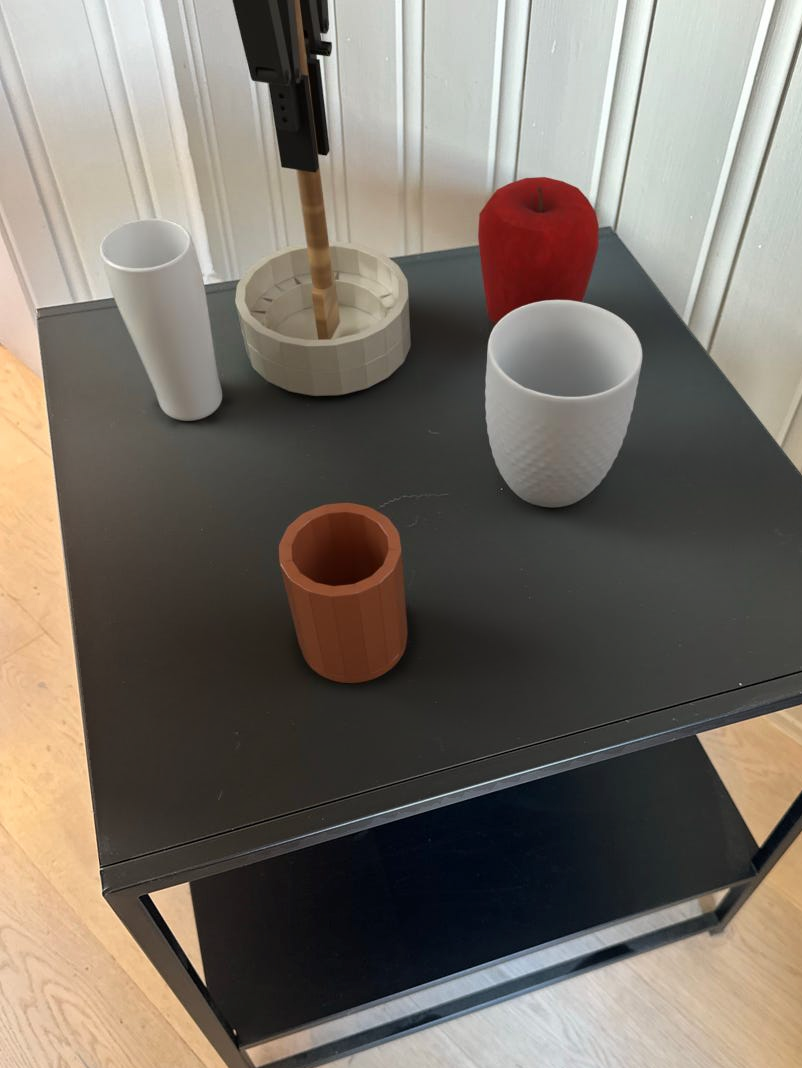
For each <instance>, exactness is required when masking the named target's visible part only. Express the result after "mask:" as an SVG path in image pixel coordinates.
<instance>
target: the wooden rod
mask: <svg viewBox="0 0 802 1068" xmlns="http://www.w3.org/2000/svg"><path fill="white" fill-rule="evenodd" d="M295 10H296V21H297V31H298V42H299V52H300V63H301V73H302V75H308V80H309V74H308V66H307V58H306V50H305V41H304V33H303V25H302V16H301V8H300V0H295ZM309 88H310V83H309ZM310 97H311V91H310ZM311 105H312V99H311ZM312 113H313V107H312ZM313 121H314V116H313ZM314 129H315V124H314ZM315 138H316V132H315ZM316 146H317V140H316ZM317 154H318V149H317ZM318 162H319V163H320V158H319V156H318ZM295 171H296V180H297V186H298V193H299V200H300V207H301V215H302V221H303V227H304V235H305V243H307V250H308V257H309V264H310V271H311V278H312V284H313V286H314V287H315V288H314V289H313V291H312V300H313V307H314V314H315V321H316V328H317V335H318V340H328V339H331V338H332V337H333V335H334V333H335V331H336V329H337V327H338V325H339V323H340V317H339V308H338V300H337V292H336V283H335V275H334V273H332V264H331V256H330V248H329V241H330V239H329V235H328V233H329V232H328V224H327V223H328V222H327V218H326V216H327V215H326V210H325V209H326V208H325V199H324V191H323V183H322V174H321V165H320V164H319V168H318V170H317V172H316V173H315V172H308V171H302V170H295Z"/></svg>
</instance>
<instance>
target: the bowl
mask: <svg viewBox="0 0 802 1068" xmlns="http://www.w3.org/2000/svg"><path fill="white" fill-rule="evenodd" d="M329 248H330V256H331V264H332V273H334V275H335V283H336V292H337V300H338V308H339V317H340V323H339V325H338V327H337V329H336V331H335V333H334V335H333V337H332V338H331V339H328V340H318V335H317V328H316V321H315V314H314V307H313V300H312V291H313V289H314V288H315V287H314V286H313V284H312V278H311V271H310V264H309V257H308V250H307V243H306V242H302V243H298V244H293V245H288V246H285V247H283V248H280V249H278V250H275V251H273V252H271V253H268V254H266V255H265V256H262V257H261V258H260V259H259V260H257V261H256V262H254V263H253V265H252V264H251V266H250V267H248V268H247V269H246V271H245V272H244V274H243V275H242V276H241V278H240V280H239V281H238V283H237V285H236V291H235V300H234V303H235V306H236V307H235V308H236V312H237V316H238V321H239V325H240V329H241V334H242V339H243V343H244V344H243V345H244V348H245V352H246V355H247V357H248V360H249V362H250V364H251V367H252V368H253V369H254V370H255V371H256V372H257V373H258V374H259V375H260V376H261V377H262V378H263V379H264V380H265V381H267V382H268V383H270V384H273V385H275V386H276V387H279V388H281V389H283V390H285V391H288V392H290V393H297V394H302V395H307V396H313V397H321V396H323V397H324V396H341V395H347V394H350V393H355V392H359V391H362V390H366V389H369V388H371V387H373V386H374V385H377V384H378V383H380V382H382V381H384V380H386V379H388V378H389V377H390V376H392V374H394V372H396V371H397V370H398V369H399V368H400V367H401V366H402V365H403V364H404V362H405V361H406V358H407V355H408V354H409V351H410V349H411V345H412V344H411V343H412V342H411V324H410V323H411V322H410V302H409V301H410V300H409V281H408V279H407V277H406V276H405V274H404V271H402V269H401V267H400V266H399V264H397V263H396V262H395V261H393V260H392V259H390V258H389V257H388V256H387V255H385V254H384V253H383V252H380V251H378V250H375V249H373V248H370V247H368V246H365V245H363V244H358V243H352V242H346V241H341V240H329Z"/></svg>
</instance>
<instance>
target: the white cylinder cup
mask: <svg viewBox="0 0 802 1068" xmlns="http://www.w3.org/2000/svg"><path fill="white" fill-rule="evenodd" d="M99 255H100V259H101V262H102V266H103V269H104V273H105V275H106V280H107V282H108V285H109V288H110V291H111V294H112V296H113V299H114V303H115V304H116V307H117V309H118V312H119V313H120V316H121V318H122V321H123V324H124V325H125V327H126V329H127V332H128V334H129V336H130V339H131V340H132V343H133V345H134V347H135V350H136V351H137V354H138V356H139V359H140V360H141V363H142V365H143V368H144V370H145V372H146V375H147V376H148V379H149V381H150V384H151V387H152V388H153V390H154V393H155V397H156V399H157V402H158V405H159V408H160V410H162V412H163V413H164V414H166V416H168V417H169V418H171V419H174V420H178V421H183V422H192V421H199V420H202V419H205V418H207V417H208V416H211V415H212V414H213V413H214V412H216V411H217V410H218V409H219V407H220V405H221V404H222V401H223V389H222V385H221V384H222V383H221V381H220V377H219V371H218V366H217V359H216V351H215V345H214V338H213V332H212V325H211V317H210V312H209V304H208V298H207V292H206V286H205V282H204V277H203V272H202V269H201V265H200V261H199V257H198V253H197V250H196V247H195V244H194V241H193V238H192V235H191V233H190V232H189V230H188V229H187V228H185V227H184V226H183V225H181V224H180V223H178V222H175V221H173V220H168V219H164V218H142V219H136V220H132V221H129V222H125V223H123V224H121V225H119V226H117V227H114V228H113V229H112V230H110V231H109V232H107V234H106V235H105V236H104V237H103V239H102V240H101V242H100V245H99Z"/></svg>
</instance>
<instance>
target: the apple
mask: <svg viewBox="0 0 802 1068" xmlns="http://www.w3.org/2000/svg"><path fill="white" fill-rule="evenodd" d="M599 226H600V225H599V221H598V216H597V212H596V210H595V208H594V207H593V205H592V203H591V202H590V200H589V198H588V197H587V196H586V195H585V194H584V193H583V192H582V190H581V189H580V188H579V187H577V186H575V185H573V184H570V183H568V182H566V181H563V180H560V179H555V178H550V177H546V176H537V177H535V176H534V177H524V178H522V179H519V180H516V181H513V182H510V183H508V184H505V185H504V186H502V187H499V188H497V189H496V190H495V191H494V193H493V194H492V196H491V197H490V198H489V199H488V201H487V202H486V204H484V206H483V208H482V209H481V211H480V212H479V214H478V231H477V232H478V233H477V239H478V240H477V241H478V250H479V258H480V267H481V276H482V282H483V289H484V297H485V304H486V313H487V318H488V319H489V320H490V321H491V322H492V324H494V326H495V325H496V324H497V323H498V322H499V321H500V320H501V319H502V318H503V317H504V316H506V315H507V314H508V313H510V312H512V311H513V310H515V309H517V308H520V307H522V306H525V305H528V304H531V303H535V302H540V301H547V300H571V301H577V302H583V303H584V299H585V296H586V293H587V290H588V286H589V283H590V280H591V276H592V272H593V269H594V265H595V262H596V257H597V254H598V251H599V230H600V229H599V228H600V227H599Z"/></svg>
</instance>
